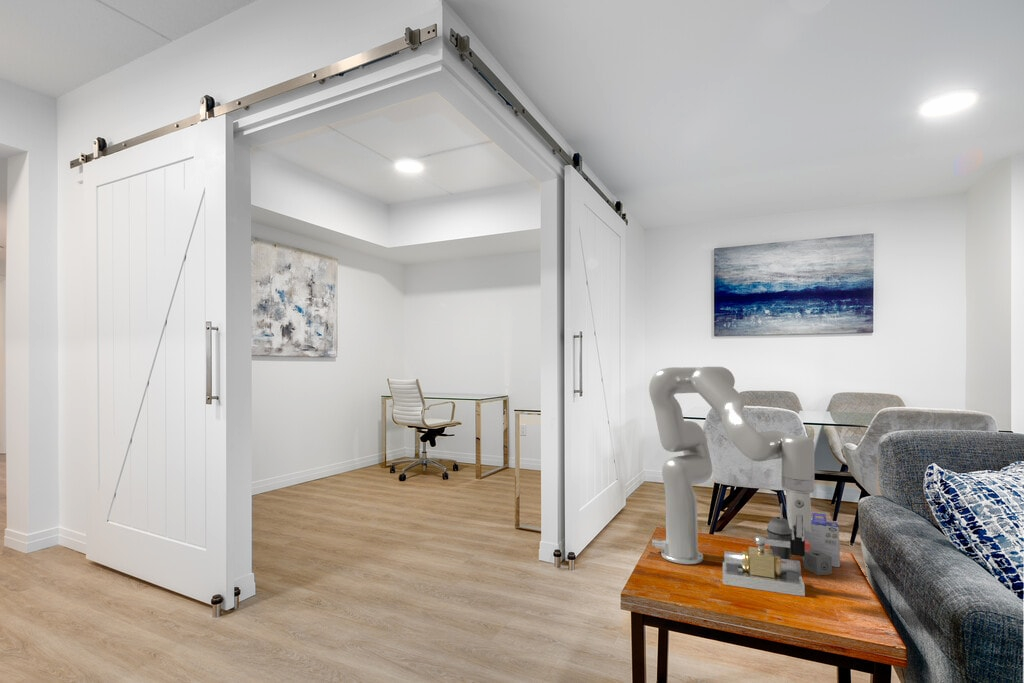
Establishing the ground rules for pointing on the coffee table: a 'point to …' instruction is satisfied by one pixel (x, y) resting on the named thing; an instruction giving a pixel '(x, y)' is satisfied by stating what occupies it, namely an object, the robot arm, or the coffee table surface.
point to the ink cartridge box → (824, 538)
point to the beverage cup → (780, 535)
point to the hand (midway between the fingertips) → (797, 554)
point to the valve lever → (778, 543)
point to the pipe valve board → (763, 582)
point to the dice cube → (818, 562)
